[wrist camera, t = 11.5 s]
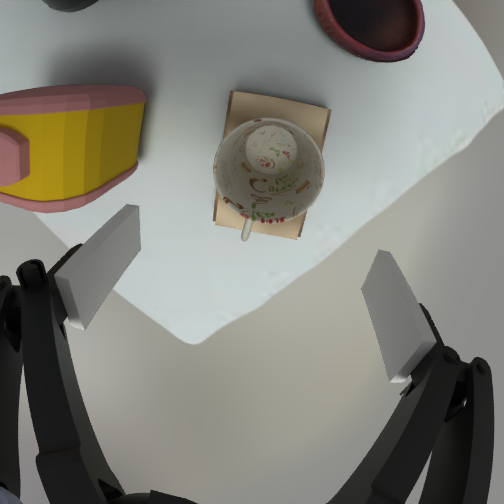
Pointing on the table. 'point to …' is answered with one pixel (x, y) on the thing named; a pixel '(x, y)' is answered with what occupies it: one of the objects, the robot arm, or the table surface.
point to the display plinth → (262, 106)
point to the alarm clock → (67, 144)
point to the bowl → (373, 27)
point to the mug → (268, 171)
